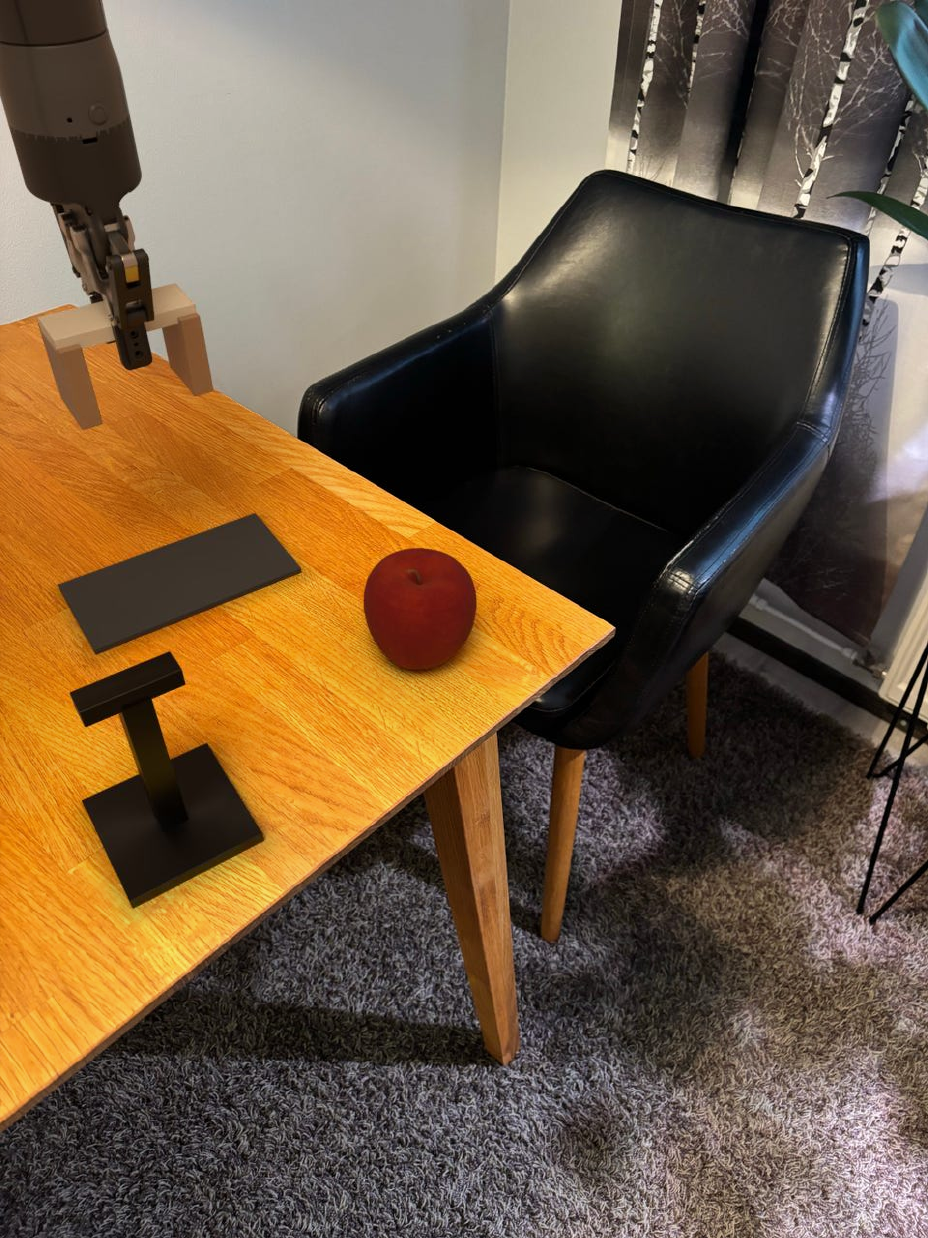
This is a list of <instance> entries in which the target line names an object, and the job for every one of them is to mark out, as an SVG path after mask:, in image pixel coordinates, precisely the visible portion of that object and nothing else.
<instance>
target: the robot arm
mask: <svg viewBox="0 0 928 1238" xmlns="http://www.w3.org/2000/svg"><path fill="white" fill-rule="evenodd" d="M110 34H111V33H110V30H109V27H108V21H107V18H106V12H105V7H104V3H103V0H0V101H1V105H2V108H3V111H4V115H5V118H6V122H7V125H8V129H9V133H10V137H11V139H12V142H13V146H14V149H15V153H16V156H17V160H18V163H19V167H20V170H21V174H22V177H23V182H24V185H25V187H26V189H27V190H28V192H29V193H30V194H31V195H33V196H34V197H35V198H36V199H39V200H41V201H43V202H47V203H49V205H50V207H52V210H53V214H54V216H55V219H56V223H57V225H58V228H59V231H60V234H61V237H62V240H63V243H64V246H65V249H66V252H67V255H68V258H69V261H70V264H71V269H72V273H73V274H74V275H75V276H76V278H77V279H80V280H81V288H82V290H83V292H85V294H86V296H88V297H89V300H90V304H93V303H97V302H101V301H104V304H105V307H106V310H107V313H108V315H107V316H108V320H109V322H111V325H112V329H113V333H114V337H115V340H114V341H111V342H107V343H106V344H107V345H110V344H114V343H115V345H116V349H117V353H118V354H117V355H118V357H119V361H120V364H121V365H122V367H123V368H124V369H125V370H127V371H134V370H137V369H141V368H145V367H148V366H150V365H151V364H152V362H153V354H152V351H151V346H150V341H149V337H148V332H146V328H145V323H144V322H150V321H153V320H154V309H153V299H152V289H153V288H152V281H151V280H152V279H151V269H150V258H149V255H148V253H147V252H146V250H145V248H143V247H141V248H137V249H136V246H135V241H136V234H135V231H134V227H133V224H132V221H131V219H130V217H129V215H128V214H125V215H124V213H123V210H122V208H121V207H120V203H121V201H122V200H123V198H124V197H125V196H126V195H128V194H129V193H130V194H131V193H132V192H133V191H134V190H136V189H137V188H138V187H139V185H140V184H141V181H142V179H143V172H142V168H141V167H142V166H141V162H140V157H139V153H138V148H137V142H136V137H135V133H134V132H135V131H134V129H133V123H132V118H131V113H130V108H129V104H128V99H127V98H128V97H127V94H126V88H125V84H124V78H123V74H122V71H121V66H120V62H119V60H118V57H117V54H116V51H115V48H114V44H113V42H112V38H111V35H110ZM130 302H133V303H131V304H127V303H130ZM126 304H127V305H126Z"/></svg>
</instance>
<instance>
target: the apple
mask: <svg viewBox="0 0 928 1238" xmlns="http://www.w3.org/2000/svg"><path fill="white" fill-rule="evenodd" d="M477 599H478V598H477V591H476V588H475V585H474V581H473V578H472V576H471V574H470V573H469V571H468V569H466V567H465V566H464V565H463V564H462V563H461V562H460V561H459V560H458V559H457V558H455V557H453V556H452V555H450V554H448V553H446V552H443V551H440V550H436V549H432V548H424V547H410V548H405V549H401V550H398V551H395V552H392V553H390V554H387V555H385V556H384V557H383V558H381V559H380V560H379V561H378V562H377V563H376V565H375V566H374V567H373V569H372V571H370V573H369V575H368V577H367V579H366V582H365V586H364V591H363V613H364V617H365V621H366V625H367V628H368V631H369V633H370V635H371V637H372V639H373V640H374V643H375V644H376V646H377V647H378V649H379V650H380V652H381V653H382V654H383V655H384V656H385V657H386V658H387V659H388V660H390V662H392V663H393V664H395V665H397V666H398V667H400V668H403V669H406V670H414V671H418V670H419V671H420V670H421V671H422V670H427V669H431V668H435V667H437V666H440V665H442V664H444V663H447V662H448V660H450V659H451V658H452V657H454V656H455V655H457V654H458V653H459V651H460V650H461V649H462V648H463V646H464V645H465V644H466V642H467V640H468V638H469V636H470V634H471V632H472V629H473V627H474V623H475V620H476V614H477V607H478V605H477Z"/></svg>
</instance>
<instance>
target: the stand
mask: <svg viewBox="0 0 928 1238" xmlns="http://www.w3.org/2000/svg"><path fill="white" fill-rule="evenodd" d="M186 685H187V684H186V679H185V676H184V671H183V669H182V667H181V666H180V664H179V663H178V661H177V659H176V658H175V656H174V654H173V653H172V652H171V650H169V651H166V652H164V653H161V654H159V655H156V656H154V657H152V658H149V659H147V660H144V661H141V662H139V663H136V664H135V665H132V666H130V667H127V668H125V669H122V670H119V671H117V672H115V673H113V674H111V675H108V676H105V677H103V678H101V679H98V680H96V681H93V682H90V683H88V684H85V685H83V686H81V687H79V688H75V689H73V690H71V691H69V696H70V699H71V701H72V704H73V706H74V708H75V711H76V712H77V714H78V716H79V718H80V720H81V723H82V724H83V726H84V727H85V728H88V727H90V726H93V725H95V724H98V723H100V722H103V721H105V720H107V719H109V718H112V717H114V716H117V715H118V717H119V720H120V724H121V726H122V729H123V731H124V735H125V737H126V741H127V744H128V747H129V749H130V751H131V755H132V757H133V760H134V764H135V767H136V769H137V773H138V774H136V775H133V776H131V777H129V778H127V779H124V780H122V781H120V782H118V783H116V784H114V785H112V786H109V787H107V788H105V789H102V790H100V791H99V792H97V793H94V794H92V795H89V796H88V797H85V798H84V799H82V800H81V804H82V805H83V807H84V810H85V812H86V814H87V816H88V818H89V820H90V822H91V825H92V827H93V828H94V829H93V830H95V831H94V832H95V833H96V835H97V837H98V839H99V841H100V843H101V845H102V847H103V849H104V852H105V854H106V856H107V858H108V860H109V863H110V864H111V866H112V869H113V871H114V874H115V875H116V877H117V880H118V881H119V884H120V885H121V887H122V890H123V892H124V894H125V896H126V898H127V900H128V903H129V905H130V907H131V909H135V908H137V907H140V906H141V905H143V904H145V903H147V902H149V901H150V900H152V899H155V898H156V897H158V896H160V895H162V894H164V893H166V892H168V891H170V890H172V889H174V888H175V887H178V886H179V885H182V884H183V883H185V882H188V881H189V880H191V879H193V878H195V877H197V876H198V875H201V874H203V873H205V872H206V871H208V870H210V869H212V868H214V867H216V866H219V865H220V864H222V863H224V862H225V861H228V860H229V859H232V858H233V857H236V856H237V855H240V854H241V853H243V852H245V851H247V850H249V849H251V848H252V847H255V846H257V845H259V844H260V843H262V842H264V841H265V839H264V835H263V832H262V830H261V829H260V827H259V826H258V824H257V821H256V820H255V819H254V817H253V816H252V814H251V812H250V810H249V809H248V807H247V806H246V803H245V802H244V801H243V799H242V797H241V796H240V794H239V792H238V791H237V789H236V787H235V785H234V784H233V783H232V781H231V779H230V778H229V776H228V774H227V773H226V771H225V770H224V768H223V766H222V765H221V763H220V762H219V760H218V758H217V757H216V755H215V753H214V752H213V750H212V748H211V747H210V745H209V743H208V742H205V743H203V744H201V745H199V746H196V747H195V748H192V749H189V750H188V751H185V752H183V753H181V754H179V755H177V756H175V757H172V758H171V757H170V753H169V750H168V747H167V744H166V739H165V737H164V735H163V731H162V728H161V724H160V721H159V718H158V714H157V711H156V709H155V705H154V701H153V700H154V699H156V698H158V697H161V696H163V695H165V694H168V693H170V692H173V691H175V690H177V689H179V688H182V687H185V686H186Z"/></svg>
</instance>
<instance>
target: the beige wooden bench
mask: <svg viewBox="0 0 928 1238" xmlns="http://www.w3.org/2000/svg"><path fill="white" fill-rule="evenodd" d="M152 299H153V309H154V320H153V321H150V322H144V323H145V328H146V332H147V333H148V332H152V331H155V330H160V329H161V331H162V335H163V336H162V337H163V339H164V340H163V341H164V345H165V350H166V355H167V359H168V364H169V368H170V369H171V370H172V372H173V373H174V374H175V375H176V376H177V378H179V380H180V381H181V382H182V383H183V384H184V386H185V387H186V388H187V389H188V391H190V393H191V394H192V395H193V396H194V397H198V396H202V395H205V394H208V393H212V392H214V385H213V380H212V374H211V369H210V362H209V358H208V352H207V347H206V341H205V337H204V330H203V324H202V319H201V316H200V314H199V313H198V310H197V306H196V302H194V301H193V299H191V298H190V297H189V296H188V295H187V293H186V292H184V290H183V289H181V288H180V286H179V285H178V284H177V283H176V282H174V283H170V284H166V285H161V286H157V287H154V288H152ZM131 303H133V302H130V303H127V304H131ZM127 304H126V305H127ZM107 315H108V313H107V310H106V307H105V304H104V301H101V302H97V303H93V304H91V303H89V304H85V305H81V306H78V307H73V308H70V309H65V310H61V311H57V312H53V313H49V314H45V315H41V316H37V321H38V322H37V325H38V329H39V331H40V335H41V339H42V342H43V345H44V348H45V351H46V354H47V358H48V362H49V365H50V368H51V372H52V374H53V378H54V381H55V384H56V387H57V390H58V391H57V392H58V393H59V396H60V399H61V401H62V402H63V404H64V405H65V407H66V408H67V410H68V411H69V413H70V414H71V415H72V417H73V418H74V420H75V421H76V422H77V424H78V426H79V427H80V429H81V430H82V431H85V430H89V429H92V428H94V427H98V426H102V425H104V422H103V419H102V418H103V417H102V415H101V412H100V407H99V404H98V401H97V397H96V393H95V389H94V386H93V383H92V379H91V376H90V371H89V368H88V366H87V361H86V358H85V354H84V351H83V349H87V348H92V347H95V346H99V345H103V344H107V342H111V341H114V340H115V337H114V333H113V329H112V325H111V322H109V320H108V316H107Z"/></svg>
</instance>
